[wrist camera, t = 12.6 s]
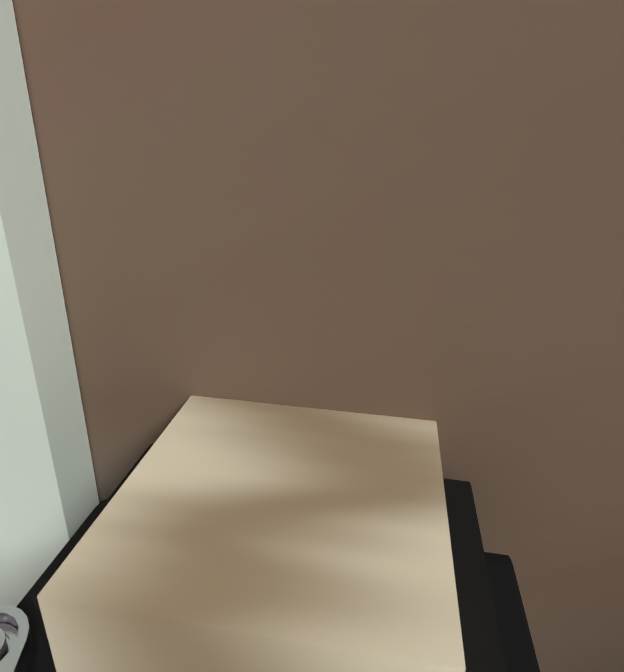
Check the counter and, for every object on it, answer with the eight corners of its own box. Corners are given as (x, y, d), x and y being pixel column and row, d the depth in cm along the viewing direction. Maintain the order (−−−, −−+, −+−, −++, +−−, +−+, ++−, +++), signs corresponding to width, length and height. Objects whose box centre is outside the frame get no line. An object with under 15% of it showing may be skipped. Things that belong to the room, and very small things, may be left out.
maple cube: (435, 419, 10) (466, 668, 5) (410, 601, 12) (416, 898, 7) (192, 393, 11) (36, 596, 6) (205, 570, 13) (95, 823, 8)
